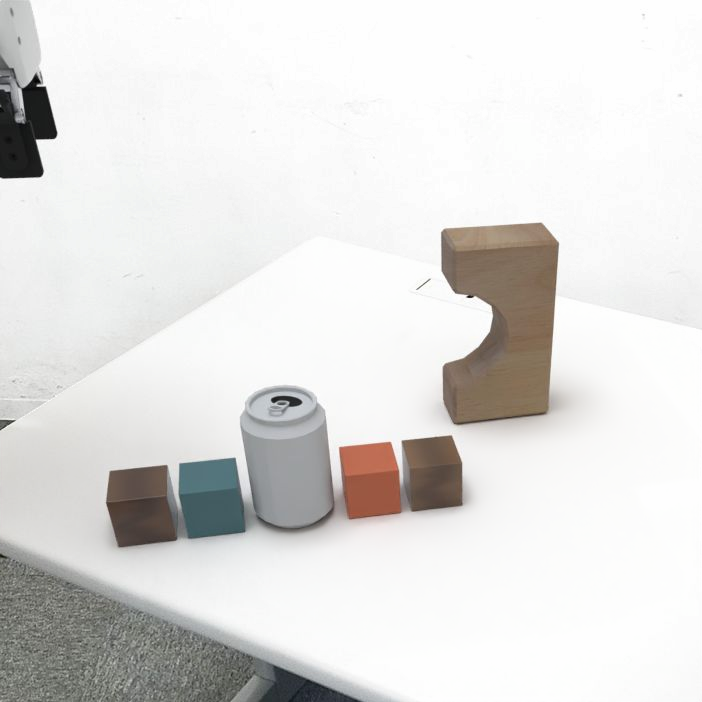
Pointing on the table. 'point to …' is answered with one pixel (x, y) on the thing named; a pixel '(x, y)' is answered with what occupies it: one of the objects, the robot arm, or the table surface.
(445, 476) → the block
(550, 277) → the decorative block
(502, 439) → the table surface
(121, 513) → the block
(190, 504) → the block
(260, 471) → the can
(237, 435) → the table surface
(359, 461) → the block
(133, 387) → the table surface
